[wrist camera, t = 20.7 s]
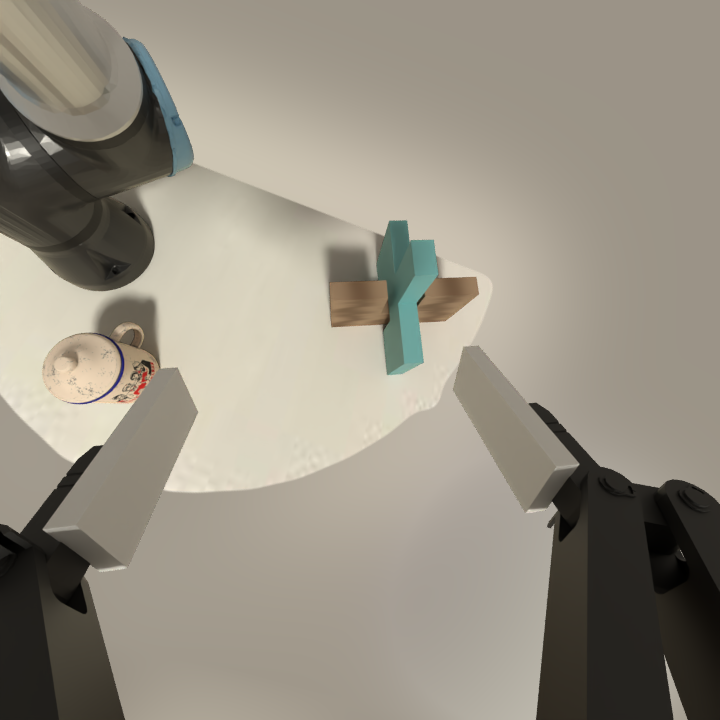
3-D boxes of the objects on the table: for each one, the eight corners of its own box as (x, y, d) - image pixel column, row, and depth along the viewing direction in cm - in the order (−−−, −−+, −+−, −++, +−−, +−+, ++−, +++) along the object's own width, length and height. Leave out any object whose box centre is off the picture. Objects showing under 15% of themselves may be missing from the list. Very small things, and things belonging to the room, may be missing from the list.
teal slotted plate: (401, 374, 48) (448, 349, 29) (387, 375, 48) (424, 351, 29) (390, 263, 52) (424, 174, 32) (376, 264, 51) (402, 174, 32)
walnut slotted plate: (331, 327, 49) (330, 300, 37) (330, 312, 49) (329, 282, 37) (445, 321, 51) (478, 294, 39) (443, 307, 51) (476, 276, 39)
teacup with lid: (142, 414, 44) (74, 416, 32) (87, 390, 44) (-1, 383, 32) (183, 344, 46) (133, 323, 35) (130, 321, 46) (63, 292, 35)
